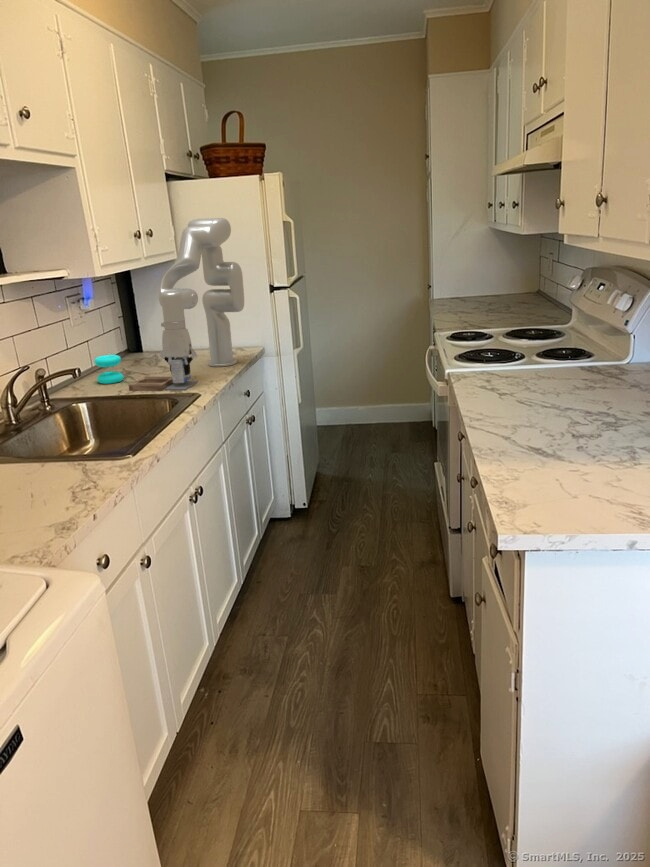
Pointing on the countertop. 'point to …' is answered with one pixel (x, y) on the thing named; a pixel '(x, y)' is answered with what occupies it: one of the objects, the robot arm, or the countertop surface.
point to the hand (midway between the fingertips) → (180, 373)
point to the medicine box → (179, 370)
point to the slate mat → (181, 385)
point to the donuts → (111, 375)
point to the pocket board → (151, 384)
